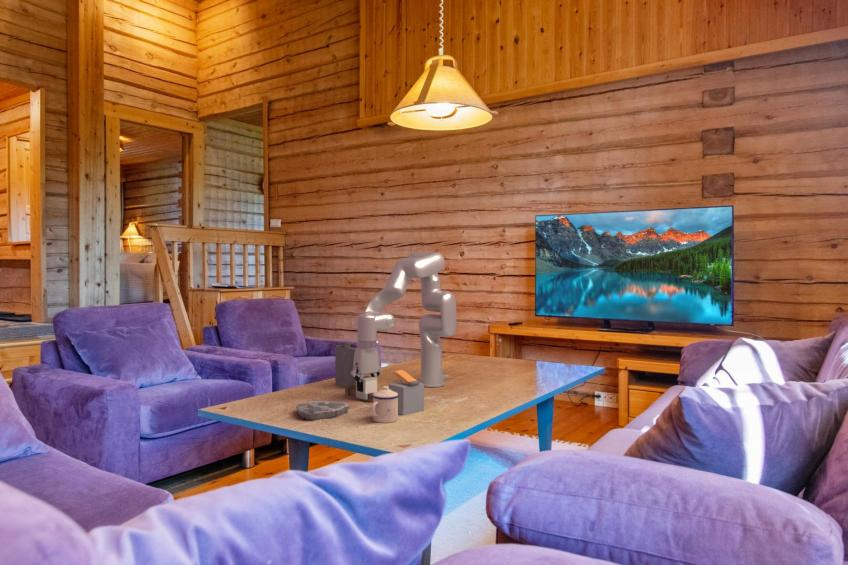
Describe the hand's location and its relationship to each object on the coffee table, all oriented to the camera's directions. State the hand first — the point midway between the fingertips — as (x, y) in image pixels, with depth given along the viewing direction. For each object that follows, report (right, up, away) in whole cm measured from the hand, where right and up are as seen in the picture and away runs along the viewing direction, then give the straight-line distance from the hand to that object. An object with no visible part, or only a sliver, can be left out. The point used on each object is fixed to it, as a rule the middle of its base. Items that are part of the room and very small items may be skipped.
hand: (366, 389), depth 235 cm
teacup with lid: (+9, -5, -30) cm, 32 cm away
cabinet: (+16, -5, -17) cm, 24 cm away
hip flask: (-11, -3, +24) cm, 27 cm away
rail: (+3, -4, -3) cm, 6 cm away
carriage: (0, -4, 0) cm, 4 cm away
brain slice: (-15, -5, -22) cm, 27 cm away
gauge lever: (+16, +7, -17) cm, 24 cm away
